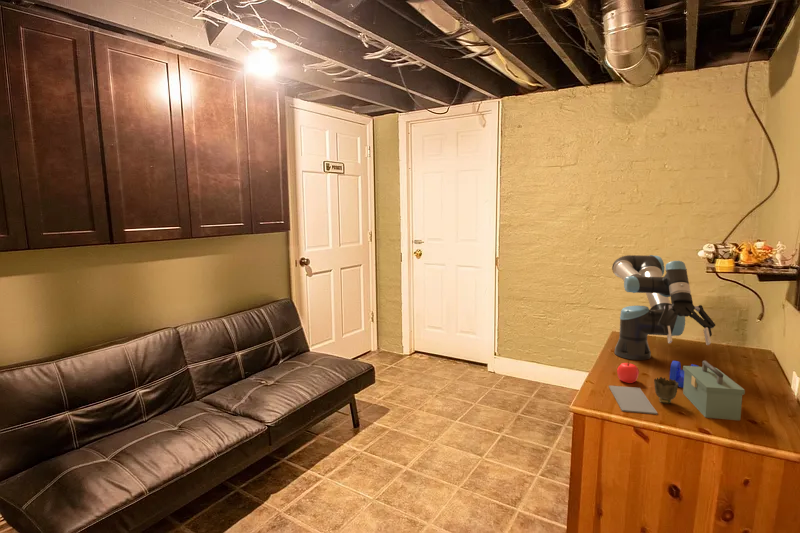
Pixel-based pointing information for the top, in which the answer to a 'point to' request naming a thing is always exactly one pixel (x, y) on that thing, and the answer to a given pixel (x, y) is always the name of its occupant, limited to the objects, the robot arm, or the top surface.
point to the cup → (665, 389)
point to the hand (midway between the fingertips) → (689, 343)
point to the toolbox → (712, 392)
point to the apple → (627, 372)
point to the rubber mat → (632, 400)
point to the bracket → (677, 373)
